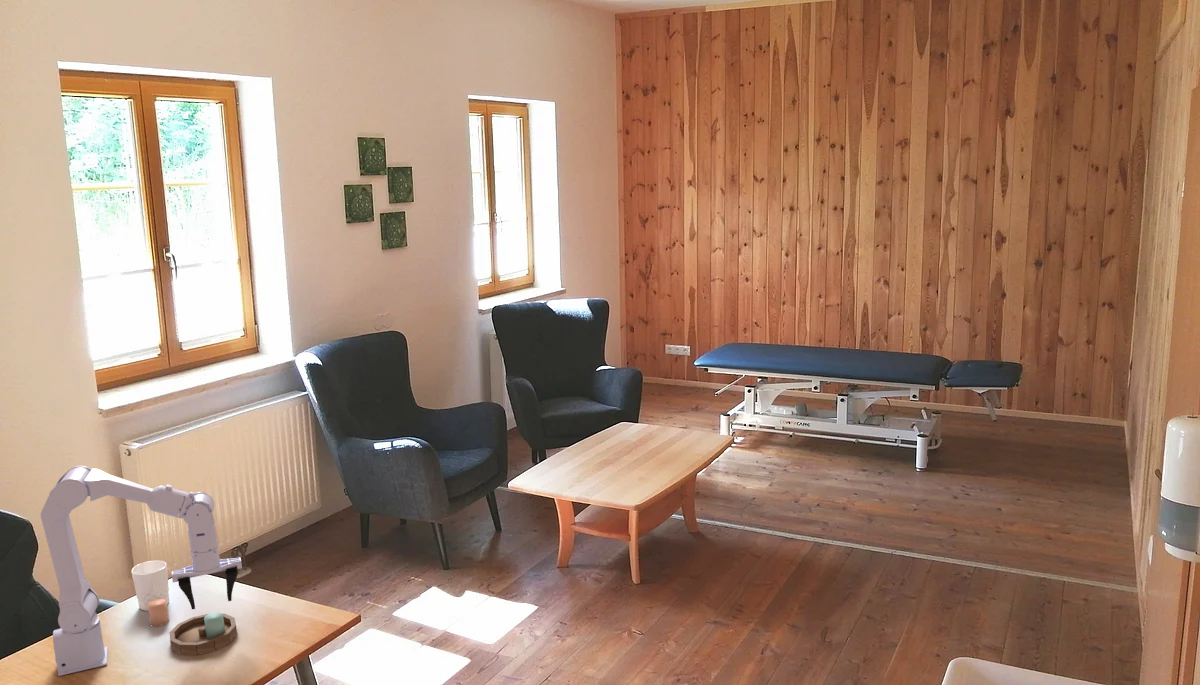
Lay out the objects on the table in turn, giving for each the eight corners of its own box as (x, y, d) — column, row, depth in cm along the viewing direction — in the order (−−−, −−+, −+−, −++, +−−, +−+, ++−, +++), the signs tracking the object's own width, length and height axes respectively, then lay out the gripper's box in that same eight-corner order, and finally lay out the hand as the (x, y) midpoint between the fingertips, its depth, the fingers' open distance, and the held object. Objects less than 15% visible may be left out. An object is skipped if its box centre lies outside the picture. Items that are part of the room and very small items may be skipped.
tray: (172, 661, 212) (170, 650, 211) (170, 632, 224) (168, 622, 224) (239, 644, 218) (238, 634, 217) (233, 617, 230) (232, 608, 230)
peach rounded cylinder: (151, 628, 227) (148, 608, 225) (150, 620, 230) (147, 601, 229) (169, 624, 228) (166, 604, 227) (168, 616, 232) (166, 597, 231)
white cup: (158, 613, 233) (152, 575, 231) (129, 611, 235) (124, 573, 233) (178, 597, 241) (173, 561, 239) (150, 595, 243) (145, 559, 240)
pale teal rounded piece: (208, 642, 217) (205, 622, 216) (205, 635, 221) (203, 615, 219) (226, 637, 219) (224, 617, 218) (224, 630, 222) (221, 610, 221)
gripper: (236, 534, 221) (243, 588, 224) (168, 547, 215) (176, 603, 218) (239, 545, 215) (246, 601, 218) (169, 559, 209) (177, 616, 212)
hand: (211, 603), depth 218 cm, fingers open, 7 cm apart
